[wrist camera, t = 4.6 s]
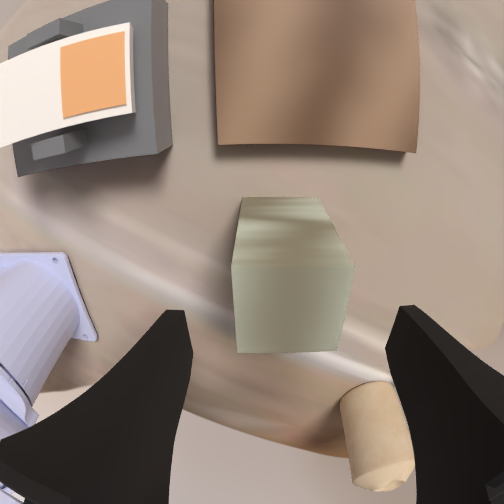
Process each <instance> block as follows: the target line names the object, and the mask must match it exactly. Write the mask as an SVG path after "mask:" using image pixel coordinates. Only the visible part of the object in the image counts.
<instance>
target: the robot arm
mask: <svg viewBox="0 0 504 504" xmlns="http://www.w3.org/2000/svg"><path fill="white" fill-rule="evenodd" d="M56 259H57V260H58V261H57V260H56ZM97 337H98V336H97V333H96V331H95V329H94V327H93V324H92V322H91V319H90V317H89V315H88V312H87V310H86V307H85V305H84V302H83V299H82V297H81V294H80V292H79V289H78V286H77V283H76V280H75V278H74V275H73V272H72V269H71V266H70V263H69V259H68V257H67V255H66V254H65V253H63V252H19V253H0V504H168V503H169V484H170V473H171V463H172V454H173V446H174V440H175V435H176V431H177V427H178V423H179V419H180V415H181V412H182V408H183V404H184V400H185V396H186V392H187V388H188V384H189V380H190V374H191V367H192V359H193V350H192V345H191V341H190V336H189V331H188V327H187V322H186V317H185V312H184V310H166V311H165V312H164V313H163V314H162V315H161V316H160V317H159V318H158V319H157V321H156V322H155V323H154V324H153V325H152V326H151V327H150V329H149V330H148V331H147V332H146V333H145V334H144V335H143V336H142V338H141V339H140V340H139V341H138V342H137V343H136V344H135V345H134V346H133V347H132V348H131V350H130V351H129V352H128V353H127V354H126V355H125V356H124V357H123V358H122V359H121V360H120V361H119V362H118V363H117V364H116V365H115V366H114V367H113V368H112V369H111V370H110V371H109V372H108V373H107V374H106V375H104V376H103V377H102V378H101V379H100V380H99V381H98V382H97V383H95V384H94V385H93V386H92V387H91V388H89V389H88V390H87V391H86V392H85V393H83V394H82V395H81V396H79V397H78V398H76V399H75V400H74V401H72V402H71V403H69V404H68V405H66V406H65V407H63V408H62V409H60V410H59V411H57V412H56V413H54V414H52V415H51V416H49V417H47V418H46V419H44V420H42V421H40V422H38V423H37V424H35V422H36V420H37V418H38V416H39V415H38V413H37V412H35V410H33V408H32V406H33V404H34V402H35V400H36V398H37V396H38V394H39V393H40V391H41V389H42V387H43V385H44V383H45V381H46V379H47V378H48V376H49V374H50V372H51V370H52V369H53V367H54V365H55V363H56V362H57V360H58V358H59V357H60V355H61V353H62V351H63V350H64V348H65V346H66V345H67V343H68V341H69V340H70V338H74V339H80V340H87V341H96V339H97ZM385 350H386V355H387V360H388V364H389V368H390V373H391V376H392V378H393V381H394V384H395V387H396V390H397V393H398V396H399V398H400V401H401V404H402V407H403V410H404V413H405V416H406V419H407V422H408V426H409V430H410V434H411V440H412V446H413V452H414V460H415V469H416V485H417V486H416V487H417V502H416V504H504V376H503V375H502V374H500V373H499V372H497V371H496V370H494V369H493V368H492V367H490V366H488V365H487V364H486V363H484V362H483V361H482V360H480V359H479V358H478V357H477V356H475V355H474V354H473V353H472V352H470V351H469V350H468V349H467V348H465V347H464V346H463V345H462V344H461V343H459V342H458V341H457V340H456V339H455V338H454V337H452V336H451V335H450V334H449V333H448V332H447V331H445V330H444V329H443V328H442V327H441V326H440V325H439V324H437V323H436V322H435V321H434V320H433V319H432V318H430V317H429V316H428V315H427V314H426V313H424V312H423V311H422V310H421V309H419V308H418V307H417V306H415V305H408V306H400V307H399V310H398V313H397V316H396V319H395V322H394V325H393V328H392V330H391V333H390V336H389V339H388V341H387V344H386V347H385ZM13 492H16V493H18V494H19V495H21V496H23V497H24V498H25V500H24V502H22V501H20V500H18V499H17V498H15V497H13V496H12V495H11V494H12V493H13Z"/></svg>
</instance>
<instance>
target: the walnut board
mask: <svg viewBox="0 0 504 504" xmlns="http://www.w3.org/2000/svg"><path fill="white" fill-rule="evenodd" d="M214 40H215V80H216V109H217V133H218V145H228V144H314V145H335V146H351V147H364V148H375V149H385V150H394V151H402V152H410V153H416V149H417V137H418V123H419V102H420V57H419V37H418V24H417V13H416V5H415V0H214Z"/></svg>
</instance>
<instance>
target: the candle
mask: <svg viewBox="0 0 504 504" xmlns="http://www.w3.org/2000/svg"><path fill="white" fill-rule="evenodd" d="M340 411H341V417H342V422H343V428H344V433H345V439H346V445H347V450H348V457H349V463H350V469H351V475H352V482H353V484H354V485H356V486H358V487H360V488H363V489H368V490H371V491H391V490H393V489H395V488H397V487H399V486H401V485H403V484H404V483H405V481H406V480H407V478H408V477H409V475H410V474H411V472H412V471H413V469H414V468H415V460H414V452H413V446H412V442H411V439H410V436H409V432H408V429H407V426H406V423H405V420H404V417H403V413H402V410H401V407H400V404H399V401H398V398H397V395H396V392H395V390H394V388H393V386H392V385H391V384H390V383H388V382H385V381H374V382H369V383H365V384H362V385H360V386H357V387H355V388H353V389H352V390H350V391H349V392H347V393H346V394H345V395H344V396H343V397H342V399H341V401H340Z"/></svg>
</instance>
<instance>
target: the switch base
mask: <svg viewBox="0 0 504 504" xmlns="http://www.w3.org/2000/svg"><path fill="white" fill-rule="evenodd" d="M128 22H130V24H131V25H132V27H133V65H134V91H135V108H136V112H135V113H129V114H123V115H118V116H112V117H107V118H102V119H98V120H93V121H89V122H84V123H80V124H76V125H72V126H68V127H64V128H60V129H57V130H53V131H50V132H46V133H43V134H39V135H36V136H33V137H30V138H27V139H24V140H21V141H18V142H15V143H12V144H13V151H14V157H15V164H16V169H17V175H18V177H21V176H25V175H29V174H34V173H38V172H43V171H47V170H52V169H57V168H62V167H68V166H73V165H79V164H85V163H91V162H97V161H104V160H111V159H118V158H126V157H134V156H143V155H152V154H158V153H160V152H162V151H163V150H165V149H167V148H169V147H171V146H172V145H173V144H172V130H171V115H170V98H169V74H168V3H167V2H166V1H165V0H110V1H107V2H104V3H101V4H98V5H95V6H92V7H89V8H87V9H84V10H82V11H79V12H76V13H74V14H72V15H69V16H67V17H64V18H59V19H57V20H55V21H53V22H50V23H48V24H46V25H44V26H42V27H40V28H38V29H36V30H34V31H32V32H31V33H29V34H27V36H26V37H24V38H22V39H20V40H18V41H17V42H15V43H13V44H12V45H10V46H9V48H8V60H9V59H12V58H14V57H16V56H18V55H21V54H23V53H25V52H28V51H30V50H33V49H35V48H38V47H41V46H43V45H46V44H49V43H52V42H55V41H58V40H61V39H64V38H67V37H70V36H74V35H77V34H81V33H84V32H88V31H92V30H96V29H100V28H104V27H109V26H113V25H118V24H123V23H128Z"/></svg>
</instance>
